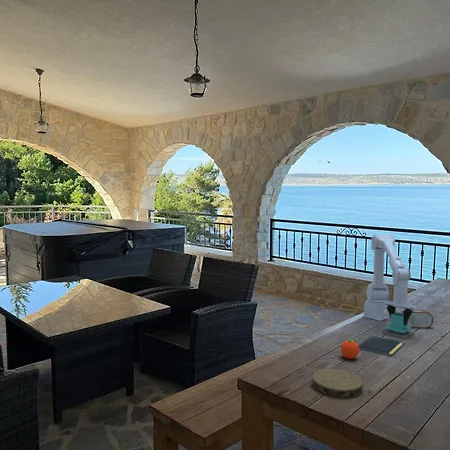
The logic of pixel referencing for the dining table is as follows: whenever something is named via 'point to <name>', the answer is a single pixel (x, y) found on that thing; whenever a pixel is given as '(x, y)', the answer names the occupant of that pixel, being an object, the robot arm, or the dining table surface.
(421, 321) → the tin
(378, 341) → the wallet
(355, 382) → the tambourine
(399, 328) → the flange
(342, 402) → the dining table surface
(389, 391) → the dining table surface
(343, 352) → the clementine
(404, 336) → the post block
